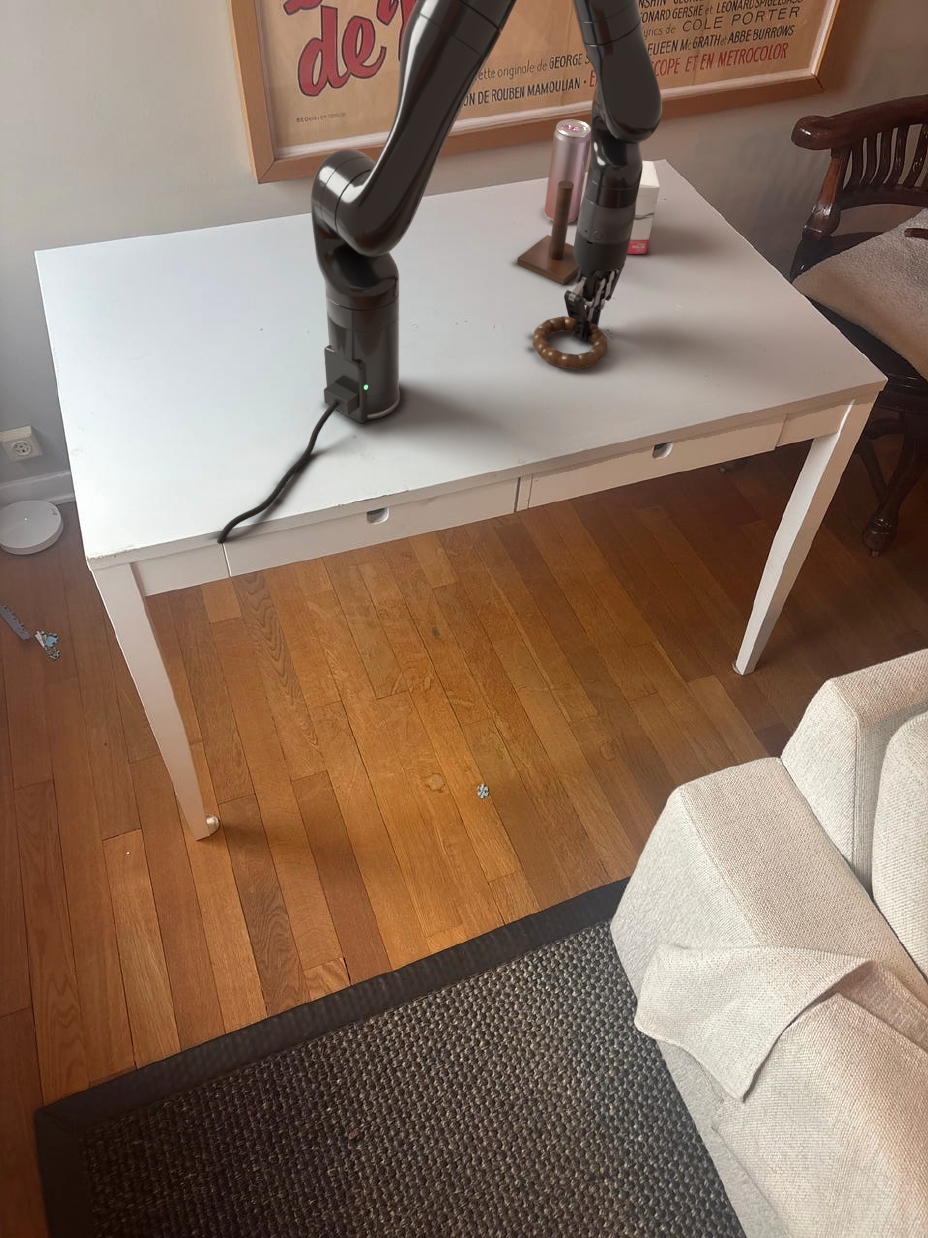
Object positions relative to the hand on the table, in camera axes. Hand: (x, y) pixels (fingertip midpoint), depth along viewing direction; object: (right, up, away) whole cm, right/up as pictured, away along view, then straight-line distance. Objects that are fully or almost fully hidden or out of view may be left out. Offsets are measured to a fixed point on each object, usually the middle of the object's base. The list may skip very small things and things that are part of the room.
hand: (585, 333), depth 145 cm
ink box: (+10, +21, +17) cm, 29 cm away
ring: (-3, -2, -3) cm, 4 cm away
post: (-3, +15, +12) cm, 20 cm away
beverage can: (-2, +27, +21) cm, 34 cm away
